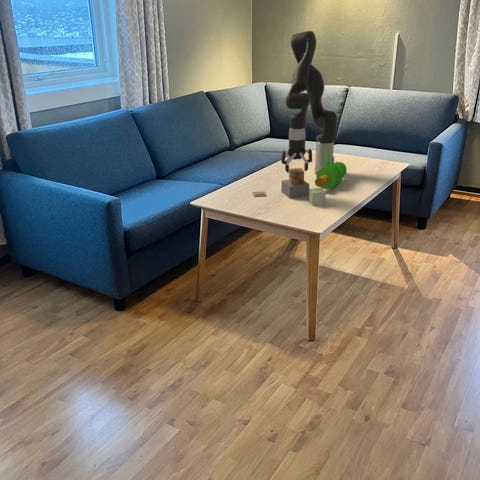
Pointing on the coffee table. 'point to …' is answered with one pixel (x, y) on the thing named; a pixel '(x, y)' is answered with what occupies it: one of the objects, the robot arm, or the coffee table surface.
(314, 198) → the sage cube
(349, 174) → the coffee table surface
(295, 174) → the walnut cube
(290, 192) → the base block
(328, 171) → the decorative tree
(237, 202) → the coffee table surface
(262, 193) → the card
